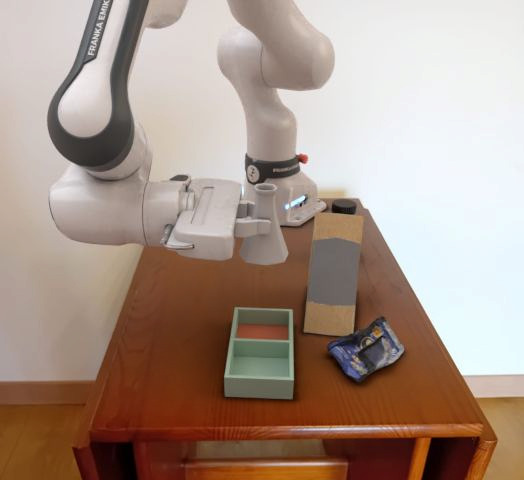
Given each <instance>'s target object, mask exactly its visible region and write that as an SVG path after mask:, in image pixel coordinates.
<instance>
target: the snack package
mask: <svg viewBox="0 0 524 480" xmlns="http://www.w3.org/2000/svg"><path fill="white" fill-rule="evenodd" d="M326 349H327V352H329V353H330V354H328V355H329V357H331V355H332V356H333V357H334V358H335V360H336V361H337V362H338V364H339V365H338V366H340V368H341V369H342V372H343V373H344V375H345V376H346V377H348V378H349V379H351V380H352V381H354V382H355V383H356V384H359V385H360V384H362V383H363V382H364V381H365V380H366V379H367V377H368V376H369V375H370V374H372V373H373V372H375V371H377V370H380V369H382V368H384V367H387V366H389V365H391V364H393V363H395V362H396V361H397V360H398V359H399V358H400V357H401V355H402V354H403V353H404V351H405V346H404V344H401V342H400V341H399V338H398V335H396V333H395V332H394V330H393V329H392V328H391V326H390V323H389V321H388V320H387V318H386V317H385V316H382V315H381V316H379V317H377V318H375V319H374V320H373V321H372V322H370V324H369V325H368V326H365V327H364V328H363V329H359V330H356V331H353V334H352V333H351V334H349V335H345V336H339V337H338V338H336V339H334V340H333V341H331V342H329V343H328V344H327V347H326Z"/></svg>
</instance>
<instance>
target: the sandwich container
mask: <svg viewBox="0 0 524 480" xmlns="http://www.w3.org/2000/svg"><path fill="white" fill-rule="evenodd" d="M313 219H314V220H313V228H312V237H311V245H310V256H309V268H308V277H307V278H308V279H307V289H306V291H307V292H306V303H305V314H304V324H303V325H304V326H303V333H308V334H317V335H323V336H324V335H325V336H334V337H335V336H336V337H341V336H345V335H349V334H351V333H352V334H353V333H354V332H355V331H354V329H355V317H356V307H357V306H356V305H357V293H358V283H359V282H358V281H359V271H360V261H361V260H360V259H361V249H362V242H363V241H362V240H363V231H364V224H365V216H364V215H358V214H357V215H356V214H355V215H348V214H337V213H332V212H323V211H321V212H316V213H315V216H314V218H313Z"/></svg>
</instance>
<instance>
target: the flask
mask: <svg viewBox="0 0 524 480" xmlns="http://www.w3.org/2000/svg"><path fill="white" fill-rule="evenodd" d="M253 189H254V191H255V193H256V198H255V206H254V211H253V216H252V219H251V220H255V219H258V217H264V218H266V217H268V218H270V219H271V232H270V233H269V234H256V235H252V236H249V237H245V238H243V241H242V243H241V245H240V248H239V250H238V256H239V257H240V258H241V259H242V260H243V261H244V263H245V264H246V263H247V264H253V265H261V266H269V265H270V266H271V265H277V264H281V263H285V262H286V260H287V257H288V256H289V251H288V246H287V244H286V241H285V238H284V235H283V232H282V229H281V225H279V221H278V218H277V214H276V207H275V193H276V191H277V189H278V187H277V186H275V185H274V184H268V183H262V184H256V185H255V186H254V188H253Z"/></svg>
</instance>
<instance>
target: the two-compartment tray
mask: <svg viewBox="0 0 524 480" xmlns="http://www.w3.org/2000/svg"><path fill="white" fill-rule="evenodd" d="M230 329H231V330H230V335H229V343H228V349H227V356H226V363H225V370H224V375H223V385H224V388H223V389H224V397H225V398H246V399H247V398H250V399H252V398H253V399H273V400H293V398H294V397H293V396H294V387H295V386H294V385H295V366H294V365H295V364H294V363H295V360H294V358H295V357H294V310H293V309H290V308H269V307H268V308H266V307H239V306H234V309H233V316H232V323H231V328H230Z"/></svg>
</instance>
